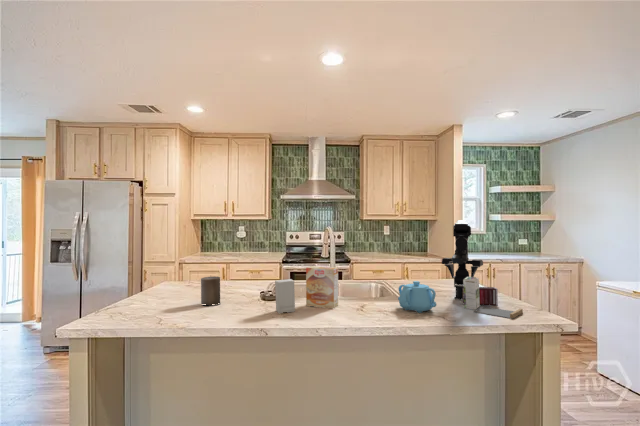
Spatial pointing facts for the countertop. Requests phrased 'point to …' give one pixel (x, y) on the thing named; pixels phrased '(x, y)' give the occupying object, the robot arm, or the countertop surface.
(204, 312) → the countertop surface
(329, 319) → the countertop surface
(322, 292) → the coffeecake box
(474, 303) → the syrup box
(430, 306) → the decorative pot
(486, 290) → the supplement box
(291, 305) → the skincare box
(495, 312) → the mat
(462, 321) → the countertop surface
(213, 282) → the pillar candle
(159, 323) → the countertop surface
